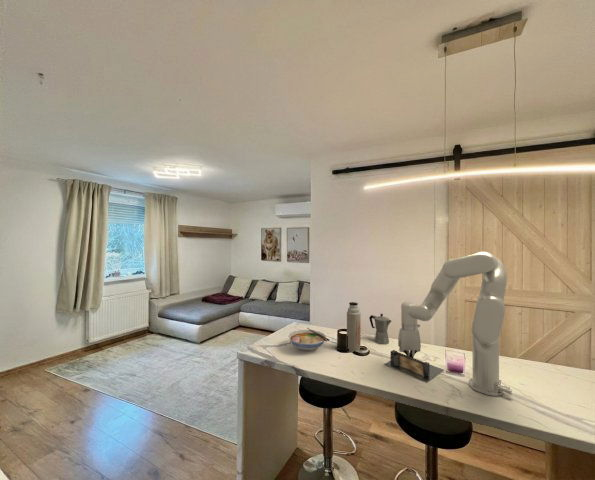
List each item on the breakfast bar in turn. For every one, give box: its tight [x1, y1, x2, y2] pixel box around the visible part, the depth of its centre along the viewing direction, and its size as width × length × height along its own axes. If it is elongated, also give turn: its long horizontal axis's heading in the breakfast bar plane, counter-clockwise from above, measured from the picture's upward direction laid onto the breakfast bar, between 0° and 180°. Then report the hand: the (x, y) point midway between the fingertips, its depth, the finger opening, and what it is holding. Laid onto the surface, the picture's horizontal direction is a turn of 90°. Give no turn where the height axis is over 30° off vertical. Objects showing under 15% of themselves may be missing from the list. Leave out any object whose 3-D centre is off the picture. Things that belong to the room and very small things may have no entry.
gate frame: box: [383, 349, 445, 383], centre depth 133 cm, size 22×18×7 cm
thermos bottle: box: [346, 301, 362, 353], centre depth 154 cm, size 8×8×28 cm
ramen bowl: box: [288, 327, 330, 352], centre depth 157 cm, size 25×23×8 cm
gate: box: [396, 351, 424, 375], centre depth 129 cm, size 14×2×6 cm, turn 36°
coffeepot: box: [368, 313, 392, 345], centre depth 168 cm, size 15×9×18 cm, turn 44°
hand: (409, 362), depth 133 cm, fingers closed
